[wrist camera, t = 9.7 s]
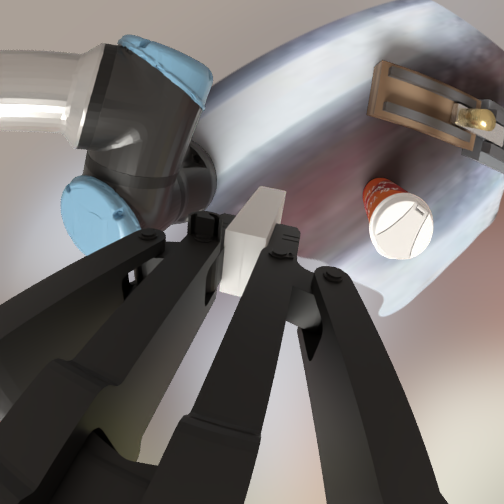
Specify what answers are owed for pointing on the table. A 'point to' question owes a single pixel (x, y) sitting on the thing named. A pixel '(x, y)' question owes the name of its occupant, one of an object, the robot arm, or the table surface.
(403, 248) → the coffee cup
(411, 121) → the door
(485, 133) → the white and gold piece
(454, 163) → the table surface
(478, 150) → the bracket
